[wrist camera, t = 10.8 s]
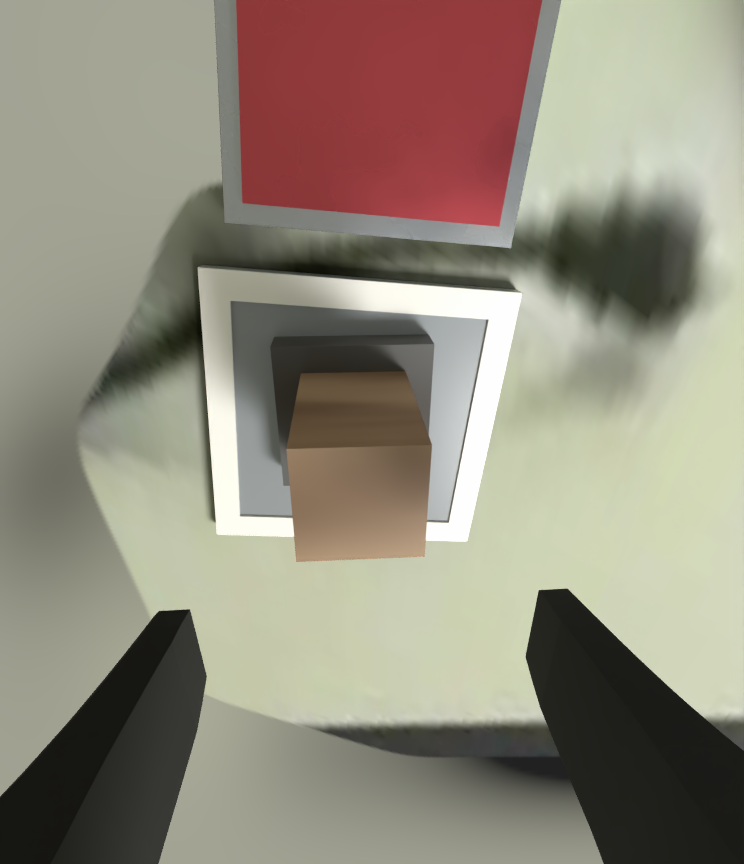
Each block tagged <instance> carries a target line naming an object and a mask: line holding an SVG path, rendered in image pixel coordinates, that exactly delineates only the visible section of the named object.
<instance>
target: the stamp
mask: <svg viewBox="0 0 744 864" xmlns="http://www.w3.org/2000/svg"><path fill="white" fill-rule="evenodd" d="M270 351H271V361H272V371H273V382H274V392H275V403H276V413H277V424H278V434H279V444H280V455H281V465H282V476H283V486H290V495H291V506H292V517H293V528H294V540H295V551H296V562H305V561H329V560H353V559H377V558H401V557H425V543H426V528H427V513H428V498H429V484H430V469H431V454H432V443H431V440H430V438H429V423H430V407H431V391H432V375H433V360H434V343H433V341H432V339H431V338H430V336H429V334H416V335H350V336H284V337H274V339H273V341H272V344H271V346H270Z"/></svg>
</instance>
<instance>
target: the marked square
mask: <svg viewBox="0 0 744 864" xmlns="http://www.w3.org/2000/svg"><path fill="white" fill-rule="evenodd" d="M198 281H199V295H200V309H201V323H202V336H203V350H204V364H205V378H206V392H207V406H208V420H209V434H210V447H211V461H212V475H213V489H214V503H215V517H216V531H217V535H248V536H284V537H294V528H293V517H292V506H291V495H290V486H283V476H282V465H281V455H280V444H279V434H278V424H277V413H276V403H275V392H274V382H273V371H272V361H271V351H270V346H271V344H272V341H273V339H274V337H284V336H350V335H416V334H429V336H430V338H431V339H432V341H433V343H434V360H433V375H432V391H431V407H430V423H429V438H430V440H431V443H432V454H431V469H430V484H429V498H428V513H427V528H426V540H430V541H466V542H467V540H468V535H469V531H470V526H471V522H472V517H473V513H474V508H475V504H476V499H477V495H478V490H479V486H480V481H481V477H482V472H483V468H484V463H485V459H486V454H487V450H488V445H489V441H490V436H491V432H492V427H493V423H494V418H495V414H496V409H497V405H498V400H499V396H500V391H501V387H502V382H503V378H504V373H505V369H506V364H507V360H508V355H509V351H510V346H511V342H512V337H513V333H514V328H515V324H516V320H517V315H518V311H519V306H520V302H521V297H522V293H521V292H520V291H518V290H514V289H501V288H489V287H476V286H464V285H451V284H438V283H426V282H413V281H400V280H388V279H375V278H363V277H350V276H337V275H325V274H312V273H299V272H287V271H274V270H262V269H249V268H236V267H224V266H211V265H201V266H199V267H198Z"/></svg>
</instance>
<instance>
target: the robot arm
mask: <svg viewBox="0 0 744 864" xmlns="http://www.w3.org/2000/svg"><path fill="white" fill-rule="evenodd" d="M526 660H527V663H528V667H529V671H530V674H531V678H532V681H533V685H534V688H535V691H536V695H537V698H538V701H539V704H540V708H541V710H542V713H543V715H544V718H545V720H546V723H547V725H548V727H549V730H550V732H551V735H552V737H553V740H554V742H555V745H556V747H557V749H558V752H559V754H560V757H561V759H562V761H563V764H564V766H565V769H566V771H567V773H568V776H569V778H570V781H571V783H572V785H573V788H574V790H575V792H576V795H577V797H578V800H579V802H580V805H581V807H582V809H583V812H584V814H585V816H586V819H587V821H588V824H589V826H590V828H591V831H592V834H593V836H594V839H595V841H596V844H597V847H598V849H599V852H600V855H601V857H602V860H603V863H604V864H744V751H743V750H742V749H741V748H739V747H738V746H737V745H736V744H734V743H733V742H732V741H731V740H730V739H728V738H727V737H726V736H725V735H723V734H722V733H721V732H720V731H719V730H717V729H716V728H715V727H714V726H713V725H712V724H711V723H709V722H708V721H707V720H706V719H705V718H704V717H702V716H701V715H700V714H699V713H698V712H697V711H695V710H694V709H693V708H692V707H691V706H690V705H688V704H687V703H686V702H685V701H684V700H683V699H682V698H681V697H679V696H678V695H677V694H676V693H675V692H674V691H673V690H672V689H671V688H669V687H668V686H667V685H666V684H665V683H664V682H663V681H662V680H661V679H660V678H659V677H658V676H657V675H656V674H654V673H653V672H652V671H651V670H650V669H649V668H648V667H647V666H646V665H645V664H644V663H643V662H642V661H641V660H639V659H638V658H637V657H636V656H635V655H634V654H633V653H632V652H631V651H630V650H629V649H628V648H627V647H626V646H625V645H624V644H623V643H622V642H621V641H620V640H619V639H618V638H617V637H616V636H615V635H614V634H613V633H612V632H611V631H610V630H609V629H608V628H607V627H606V626H605V625H604V624H603V623H602V622H601V621H600V620H599V619H598V618H596V617H595V616H594V615H593V614H592V613H591V612H590V611H589V610H588V609H587V608H586V607H585V606H584V605H583V604H582V603H581V602H580V601H579V600H578V599H577V598H576V597H575V596H574V595H573V594H572V593H571V592H570V591H569V590H568V589H553V590H539V592H538V597H537V602H536V607H535V612H534V617H533V622H532V627H531V632H530V637H529V642H528V647H527V652H526ZM206 678H207V676H206V672H205V668H204V664H203V660H202V656H201V652H200V648H199V644H198V640H197V636H196V632H195V628H194V624H193V620H192V616H191V612H190V609H189V610H171V611H159V612H158V613H157V614H156V615H155V616H154V617H153V618H152V620H151V621H150V622H149V624H148V625H147V626H146V627H145V629H144V630H143V631H142V633H141V634H140V635H139V637H138V638H137V639H136V640H135V641H134V643H133V644H132V645H131V647H130V648H129V649H128V650H127V652H126V653H125V654H124V656H123V657H122V658H121V659H120V660H119V662H118V663H117V664H116V665H115V667H114V668H113V669H112V671H111V672H110V673H109V674H108V675H107V677H106V678H105V679H104V680H103V681H102V683H101V684H100V685H99V686H98V687H97V689H96V690H95V691H94V692H93V693H92V695H91V696H90V697H89V698H88V699H87V701H86V702H85V703H84V704H83V705H82V707H81V708H80V709H79V710H78V711H77V713H76V714H75V715H74V716H73V717H72V718H71V720H70V721H69V722H68V723H67V724H66V725H65V726H64V728H63V729H62V730H61V731H60V732H59V733H58V734H57V735H56V736H55V738H54V739H53V740H52V741H51V742H50V743H49V744H48V745H47V747H46V748H45V749H44V750H43V751H42V752H41V753H40V754H39V756H38V757H37V758H36V759H35V760H34V761H33V762H32V763H31V764H30V765H29V767H28V768H27V769H26V770H25V771H24V772H23V773H22V774H21V775H20V776H19V777H18V778H17V779H16V781H15V782H14V783H13V784H12V785H11V786H10V787H9V788H8V789H7V790H6V791H5V792H4V793H3V794H2V795H1V796H0V864H158V863H159V859H160V856H161V852H162V849H163V846H164V842H165V839H166V836H167V832H168V829H169V825H170V822H171V818H172V815H173V812H174V808H175V805H176V802H177V798H178V795H179V791H180V788H181V785H182V781H183V778H184V774H185V771H186V767H187V764H188V760H189V757H190V754H191V750H192V747H193V743H194V739H195V736H196V732H197V728H198V723H199V717H200V711H201V707H202V701H203V695H204V689H205V683H206Z"/></svg>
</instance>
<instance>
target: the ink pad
mask: <svg viewBox="0 0 744 864" xmlns="http://www.w3.org/2000/svg"><path fill="white" fill-rule="evenodd" d="M214 3H215V4H214V5H215V27H216V47H217V48H216V49H217V69H218V92H219V114H220V135H221V155H222V156H221V157H222V177H223V178H222V179H223V200H224V222H225V223H234V224H245V225H256V226H268V227H279V228H291V229H302V230H313V231H325V232H336V233H348V234H359V235H370V236H382V237H393V238H405V239H416V240H427V241H439V242H450V243H462V244H473V245H484V246H496V247H507V248H511V244H512V239H513V234H514V230H515V225H516V220H517V215H518V210H519V205H520V200H521V195H522V190H523V185H524V180H525V175H526V171H527V166H528V161H529V156H530V151H531V146H532V141H533V136H534V131H535V126H536V121H537V117H538V112H539V107H540V102H541V97H542V92H543V87H544V82H545V77H546V72H547V67H548V62H549V58H550V53H551V48H552V43H553V38H554V33H555V28H556V23H557V18H558V13H559V8H560V4H561V0H214Z"/></svg>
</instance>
